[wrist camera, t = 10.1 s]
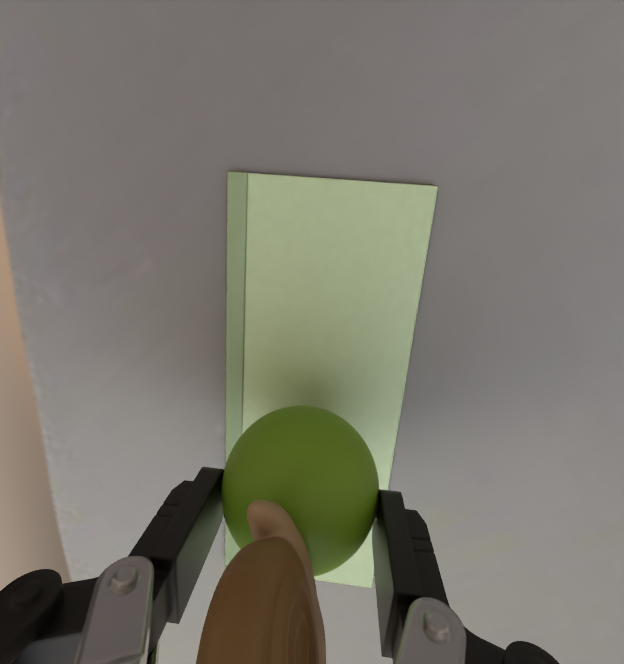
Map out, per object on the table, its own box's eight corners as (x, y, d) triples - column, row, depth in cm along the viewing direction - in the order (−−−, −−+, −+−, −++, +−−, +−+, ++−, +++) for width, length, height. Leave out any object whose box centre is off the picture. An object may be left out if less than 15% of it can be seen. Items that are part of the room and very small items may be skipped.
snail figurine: (273, 518, 16) (102, 1209, 5) (229, 396, 15) (-185, 990, 3) (389, 500, 15) (519, 1288, 4) (356, 368, 14) (411, 1046, 2)
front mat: (230, 172, 14) (226, 170, 13) (435, 187, 13) (439, 185, 13) (227, 560, 20) (224, 569, 19) (371, 581, 19) (371, 590, 19)
